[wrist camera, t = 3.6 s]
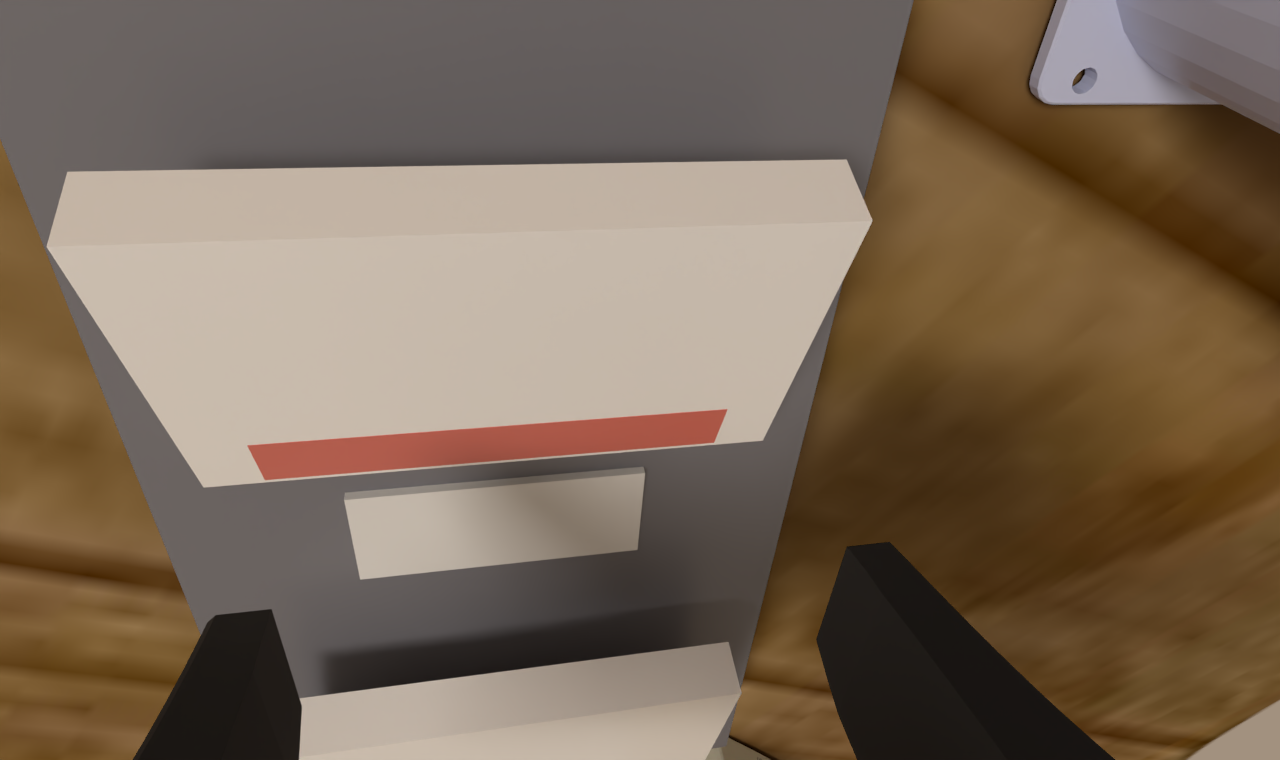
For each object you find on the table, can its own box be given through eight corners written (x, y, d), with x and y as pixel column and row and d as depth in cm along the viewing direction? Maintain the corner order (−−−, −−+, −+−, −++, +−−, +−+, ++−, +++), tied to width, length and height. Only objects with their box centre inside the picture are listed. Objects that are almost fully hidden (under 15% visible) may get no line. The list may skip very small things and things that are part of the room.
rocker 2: (728, 641, 20) (741, 693, 19) (688, 728, 24) (698, 773, 23) (267, 702, 18) (262, 762, 17) (318, 784, 22) (315, 834, 21)
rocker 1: (846, 159, 12) (872, 221, 12) (748, 387, 17) (762, 441, 16) (67, 170, 10) (45, 247, 10) (211, 426, 15) (203, 488, 14)
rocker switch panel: (844, -76, 15) (928, -31, 12) (701, 661, 28) (728, 752, 26) (11, -111, 12) (-91, -64, 10) (288, 718, 26) (273, 824, 23)
